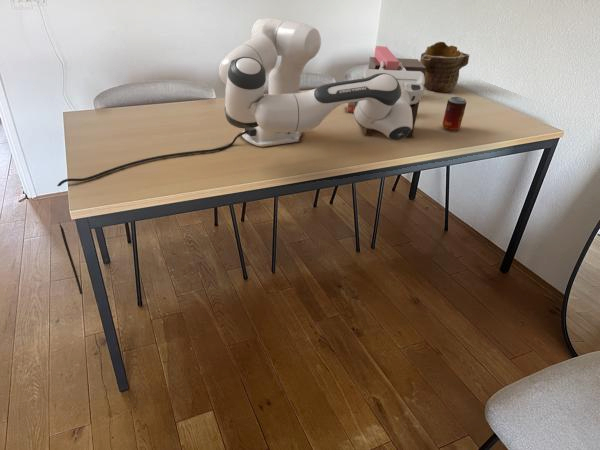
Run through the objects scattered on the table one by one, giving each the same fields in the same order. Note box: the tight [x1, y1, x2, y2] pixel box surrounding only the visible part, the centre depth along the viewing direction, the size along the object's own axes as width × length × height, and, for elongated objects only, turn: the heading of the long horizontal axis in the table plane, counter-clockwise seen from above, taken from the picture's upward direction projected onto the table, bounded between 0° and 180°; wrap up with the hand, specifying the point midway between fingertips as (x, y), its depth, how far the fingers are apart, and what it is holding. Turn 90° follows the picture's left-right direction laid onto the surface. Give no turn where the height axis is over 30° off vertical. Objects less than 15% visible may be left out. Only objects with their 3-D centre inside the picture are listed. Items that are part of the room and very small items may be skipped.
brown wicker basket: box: [419, 41, 470, 93], centre depth 220 cm, size 23×24×25 cm
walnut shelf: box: [361, 56, 426, 138], centre depth 168 cm, size 12×18×26 cm, turn 92°
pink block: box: [373, 45, 399, 70], centre depth 157 cm, size 22×4×4 cm, turn 2°
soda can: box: [442, 96, 468, 132], centre depth 177 cm, size 7×7×12 cm
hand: (391, 63), depth 150 cm, fingers closed on pink block, 4 cm apart
